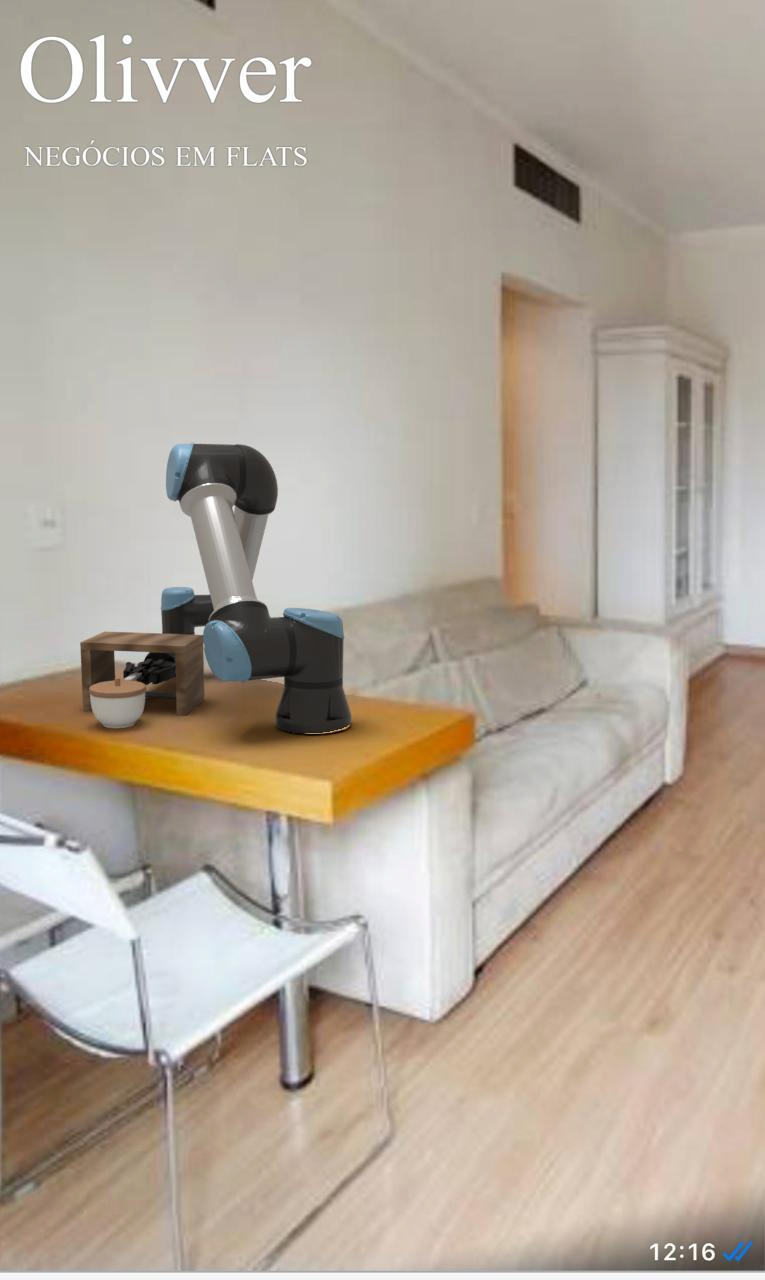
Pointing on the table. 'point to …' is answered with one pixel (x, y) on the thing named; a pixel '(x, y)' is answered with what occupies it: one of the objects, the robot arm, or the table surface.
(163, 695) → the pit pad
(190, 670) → the tunnel
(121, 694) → the lidded jar
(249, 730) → the table surface
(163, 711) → the table surface
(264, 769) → the table surface
